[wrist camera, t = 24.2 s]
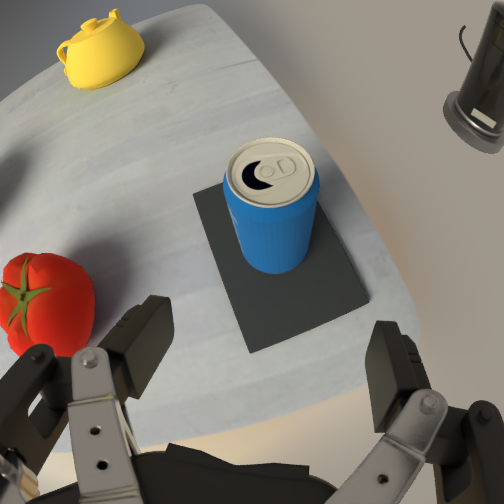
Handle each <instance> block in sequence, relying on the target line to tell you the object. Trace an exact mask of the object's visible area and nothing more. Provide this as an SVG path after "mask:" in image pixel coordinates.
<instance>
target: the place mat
mask: <svg viewBox="0 0 504 504" xmlns="http://www.w3.org/2000/svg"><path fill="white" fill-rule="evenodd" d="M193 197H194V200H195V203H196V206H197V209H198V212H199V215H200V218H201V221H202V224H203V227H204V229H205V232H206V235H207V238H208V241H209V244H210V247H211V250H212V253H213V255H214V258H215V261H216V264H217V267H218V269H219V272H220V275H221V278H222V281H223V283H224V286H225V289H226V292H227V294H228V297H229V300H230V302H231V305H232V308H233V311H234V313H235V316H236V319H237V321H238V324H239V327H240V329H241V332H242V334H243V337H244V340H245V342H246V345H247V347H248V350H249V353H253V352H256V351H259V350H261V349H264V348H267V347H269V346H272V345H274V344H277V343H279V342H282V341H284V340H287V339H289V338H292V337H294V336H296V335H299V334H301V333H304V332H306V331H308V330H311V329H313V328H315V327H318V326H320V325H322V324H324V323H327V322H329V321H331V320H333V319H336V318H338V317H340V316H342V315H344V314H347V313H349V312H351V311H353V310H355V309H357V308H359V307H361V306H363V305H366V304H368V303H369V299H368V297H367V295H366V293H365V291H364V289H363V287H362V285H361V283H360V281H359V279H358V277H357V275H356V273H355V271H354V269H353V267H352V265H351V263H350V261H349V259H348V257H347V255H346V253H345V251H344V249H343V247H342V245H341V243H340V241H339V240H338V238H337V236H336V234H335V232H334V230H333V228H332V227H331V225H330V223H329V221H328V219H327V217H326V216H325V214H324V212H323V210H322V208H321V207H320V205H319V203H318V201H317V204H316V209H315V215H314V220H313V226H312V231H311V236H310V241H309V246H308V251H307V253H306V256H305V257H304V259H303V260H302V262H301V263H300V264H299V265H298V266H296V267H295V268H293V269H292V270H290V271H287V272H284V273H279V274H270V273H265V272H262V271H259V270H257V269H256V268H254V267H253V266H251V265H250V264H249V263H248V261H247V260H246V259H245V257H244V255H243V253H242V250H241V247H240V243H239V240H238V237H237V234H236V231H235V227H234V224H233V221H232V218H231V214H230V211H229V208H228V205H227V201H226V198H225V195H224V191H223V183H220V184H218V185H215V186H212V187H210V188H207V189H205V190H202V191H199V192H197V193H194V194H193Z"/></svg>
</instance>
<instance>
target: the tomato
mask: <svg viewBox="0 0 504 504" xmlns="http://www.w3.org/2000/svg"><path fill="white" fill-rule="evenodd" d="M1 283H2V285H3V286H2V288H1V289H0V325H1V327H2V328H3V329H4V331H5V332H6V333H7V334H8V342H9V345H10V347H11V349H12V350H13V351H14V352H15V353H16V354H17V355H18V356H19V357H20V356H21V355H22V354H23V353H24V352H25V351H26V350H27V349H28V348H30V347H31V346H33V345H36V344H48V345H50V346H51V347H52V348H53V350H54V352H55V355H56V356H64V357H73V355H74V354H75V353H76V352H77V351H79V350H80V349H82V348H85V346H86V344H87V342H88V340H89V338H90V336H91V331H92V327H93V323H94V318H95V295H94V289H93V284H92V281H91V279H90V278H89V276H88V275H87V273H86V272H85V271H84V269H83V268H82V267H81V266H79V265H78V264H76V263H74V262H73V261H71V260H69V259H67V258H65V257H62V256H59V255H56V254H52V253H41V254H34V253H23V254H21V255H19V256H17V257H15V258H13V259H12V260H10V262H9V263H8V264H7V265H6V266H5V267H4V269H3V282H1Z"/></svg>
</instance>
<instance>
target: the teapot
mask: <svg viewBox="0 0 504 504" xmlns="http://www.w3.org/2000/svg"><path fill="white" fill-rule="evenodd" d="M81 28H82V30H81V31H79V32H78V33H77V34H76V35H75V36H73V38H72V39H71V40H67V41H65V42H63V43H62V44H61V45H60V46H59V48H58V50H57V55H58V58H59V59H60V60H61V61H62V62H63V63H64V64H65V65H66V67H65V68H64V73H65V75H67V76H68V78H69V80H70V82H71V84H72V85H73V86H74V87H76V88H79V89H85V90H94V89H98V88H101V87H104V86H107V85H109V84H111V83H113V82H115V81H117V80H119V79H120V78H122V77H123V76H125V75H126V74H128V73H129V72H130V71H131V70H132V69H133V68H134V67H135V66H136V65H137V64H138V62H139V61H140V59H141V57H142V54H143V52H144V47H145V45H144V42H143V40H142V38H141V37H140V35H139V34H138V33H137V32H136V31H135V30H134V29H133V28H132V27H131V26H129V25H128V24H126V23H124V22H122V20H121V17H120V13H119V10H118V9H114V10H112V11H111V12H110V13H109V18H106V19H102V20H99V21H97V19H96V18H93V19H90V20H88V21H86V22H85V23H84V24H82V25H81ZM65 46H68V50H67V56H66V55H65V54H64V52H63V47H65Z"/></svg>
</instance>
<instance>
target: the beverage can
mask: <svg viewBox="0 0 504 504" xmlns="http://www.w3.org/2000/svg"><path fill="white" fill-rule="evenodd" d="M319 183H320V182H319V176H318V172H317V170H316V168H315V166H314V163H313V160H312V158H311V156H310V155H309V154H308V152H307V151H306V150H305V149H304V148H303V147H301V146H300V145H298V144H297V143H295V142H293V141H290V140H287V139H284V138H278V137H265V138H259V139H255V140H253V141H250V142H248V143H246V144H244V145H243V146H241V147H240V148H239V149H237V150H236V151H235V152H234V154H233V155H232V156H231V158H230V160H229V162H228V164H227V169H226V172H225V175H224V179H223V191H224V195H225V198H226V201H227V205H228V208H229V211H230V214H231V218H232V221H233V224H234V227H235V231H236V234H237V237H238V240H239V243H240V247H241V250H242V253H243V255H244V257H245V259H246V260H247V261H248V263H249V264H250V265H251V266H253V267H254V268H256V269H257V270H259V271H262V272H265V273H270V274H279V273H284V272H287V271H290V270H292V269H293V268H295V267H296V266H298V265H299V264H300V263H301V262H302V260H303V259H304V257H305V256H306V253H307V251H308V246H309V241H310V236H311V231H312V226H313V220H314V215H315V209H316V204H317V198H318V192H319Z"/></svg>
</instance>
